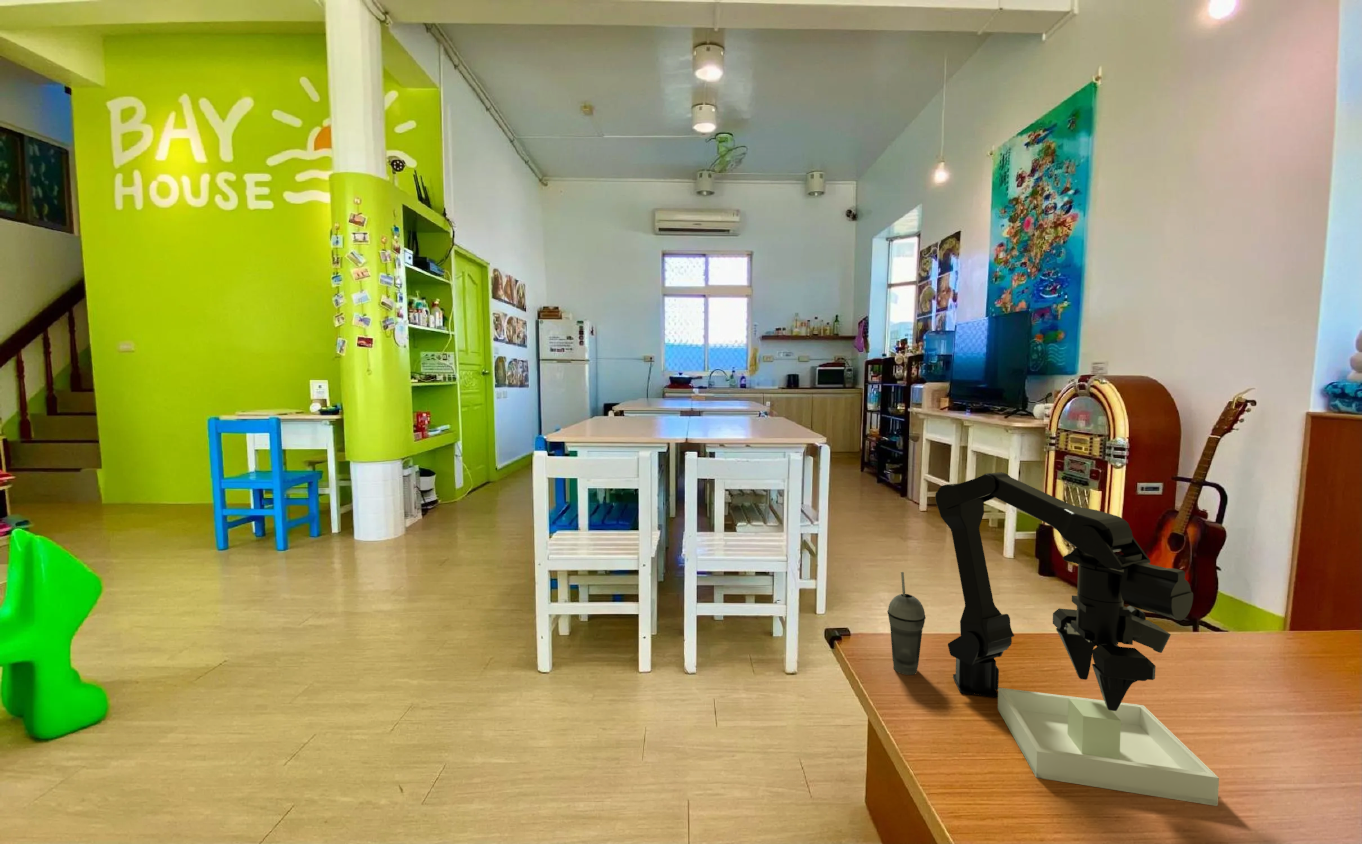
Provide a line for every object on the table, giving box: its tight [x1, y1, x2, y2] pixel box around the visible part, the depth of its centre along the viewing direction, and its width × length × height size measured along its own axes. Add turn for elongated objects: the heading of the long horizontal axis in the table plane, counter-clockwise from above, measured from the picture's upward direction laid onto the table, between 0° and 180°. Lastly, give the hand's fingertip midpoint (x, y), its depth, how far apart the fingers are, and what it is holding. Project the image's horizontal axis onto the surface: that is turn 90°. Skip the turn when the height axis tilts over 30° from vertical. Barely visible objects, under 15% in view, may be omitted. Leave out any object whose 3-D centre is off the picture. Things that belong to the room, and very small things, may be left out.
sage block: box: [1067, 699, 1121, 759], centre depth 85 cm, size 5×5×6 cm
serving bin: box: [997, 687, 1220, 807], centre depth 85 cm, size 22×18×4 cm
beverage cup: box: [887, 571, 927, 676], centre depth 111 cm, size 7×7×20 cm
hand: (1096, 693), depth 85 cm, fingers open, 9 cm apart
